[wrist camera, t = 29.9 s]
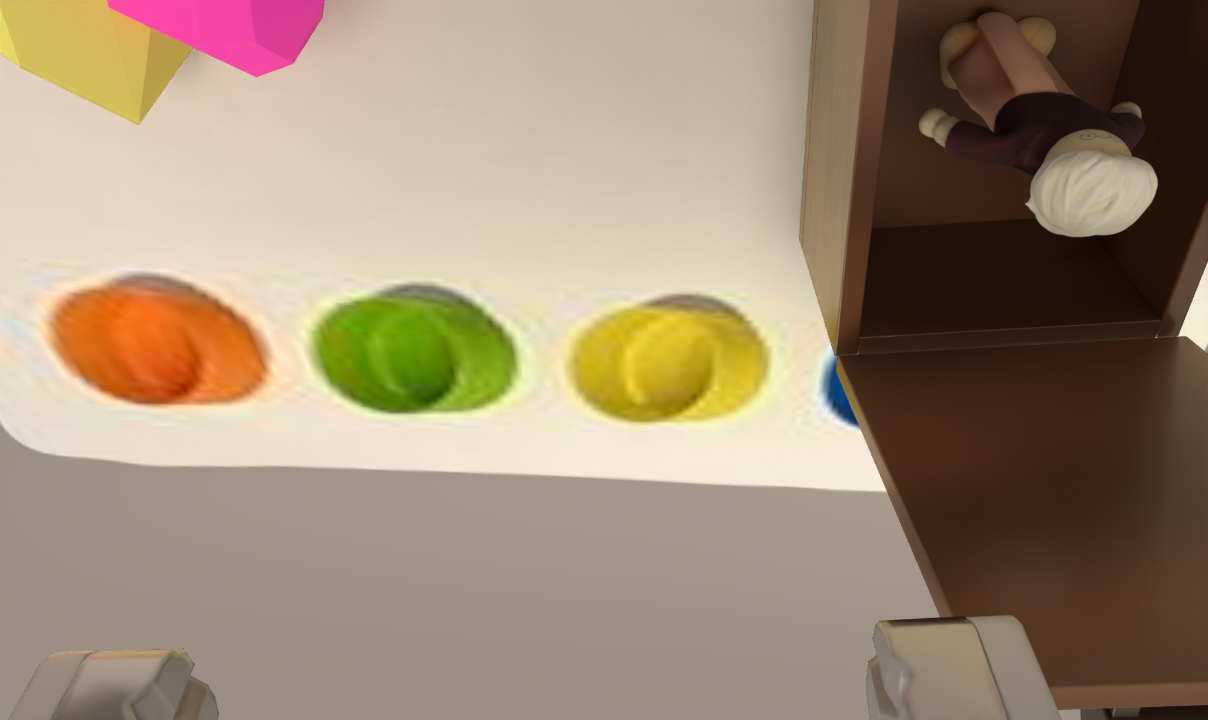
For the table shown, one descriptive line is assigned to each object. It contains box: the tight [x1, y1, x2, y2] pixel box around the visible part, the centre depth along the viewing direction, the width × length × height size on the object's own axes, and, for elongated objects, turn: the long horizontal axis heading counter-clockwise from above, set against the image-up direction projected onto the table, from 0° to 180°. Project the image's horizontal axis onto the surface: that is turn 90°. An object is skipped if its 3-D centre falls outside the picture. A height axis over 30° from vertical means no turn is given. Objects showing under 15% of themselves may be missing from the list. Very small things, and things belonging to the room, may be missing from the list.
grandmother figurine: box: [919, 12, 1158, 237], centre depth 32 cm, size 8×4×13 cm, turn 103°
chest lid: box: [837, 336, 1208, 720], centre depth 29 cm, size 17×13×5 cm
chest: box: [799, 0, 1208, 356], centre depth 34 cm, size 16×13×9 cm
